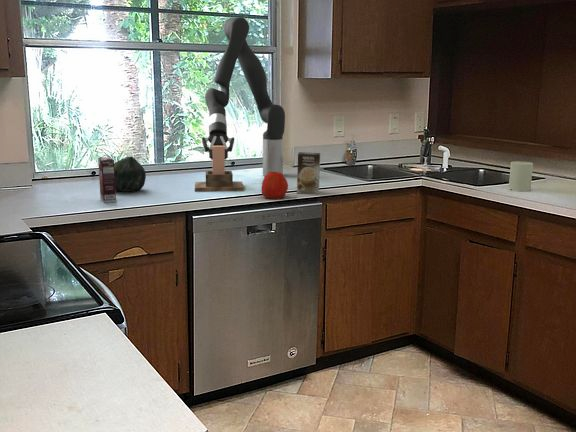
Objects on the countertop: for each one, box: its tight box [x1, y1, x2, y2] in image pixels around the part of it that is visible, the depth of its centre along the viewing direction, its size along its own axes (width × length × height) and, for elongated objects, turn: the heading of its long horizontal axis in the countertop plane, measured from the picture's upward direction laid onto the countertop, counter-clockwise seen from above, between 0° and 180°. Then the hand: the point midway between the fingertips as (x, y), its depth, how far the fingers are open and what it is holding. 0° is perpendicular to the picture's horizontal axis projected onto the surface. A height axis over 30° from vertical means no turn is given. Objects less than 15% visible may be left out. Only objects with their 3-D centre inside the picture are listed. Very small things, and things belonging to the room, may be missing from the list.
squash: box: [114, 156, 147, 193], centre depth 258 cm, size 14×15×15 cm
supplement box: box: [97, 156, 117, 204], centre depth 238 cm, size 9×5×16 cm, turn 24°
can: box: [508, 160, 534, 192], centre depth 272 cm, size 9×9×12 cm
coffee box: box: [296, 151, 321, 195], centre depth 259 cm, size 9×6×16 cm
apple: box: [261, 171, 289, 200], centre depth 248 cm, size 10×10×10 cm
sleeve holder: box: [194, 170, 245, 192], centre depth 268 cm, size 20×15×6 cm
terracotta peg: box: [211, 145, 226, 174], centre depth 266 cm, size 5×5×14 cm
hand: (218, 158), depth 264 cm, fingers closed on terracotta peg, 5 cm apart
